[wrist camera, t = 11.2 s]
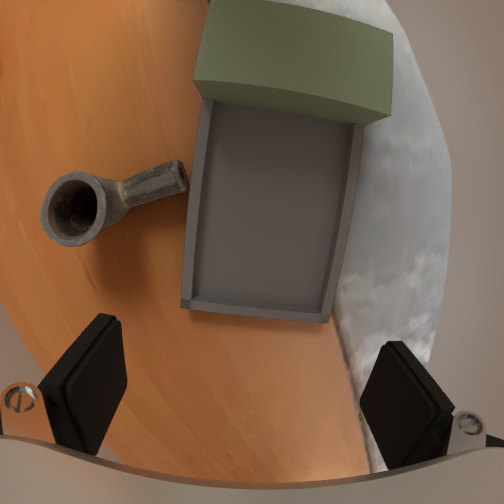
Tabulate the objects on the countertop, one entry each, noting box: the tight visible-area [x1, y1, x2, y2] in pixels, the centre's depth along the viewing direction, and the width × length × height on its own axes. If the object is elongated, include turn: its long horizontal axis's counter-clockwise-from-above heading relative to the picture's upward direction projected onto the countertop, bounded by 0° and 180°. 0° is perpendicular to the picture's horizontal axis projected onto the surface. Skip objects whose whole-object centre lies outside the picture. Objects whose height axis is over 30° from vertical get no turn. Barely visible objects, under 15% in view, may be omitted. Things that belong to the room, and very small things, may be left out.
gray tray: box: [181, 0, 393, 323], centre depth 24 cm, size 28×15×8 cm, turn 172°
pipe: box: [40, 160, 188, 247], centre depth 24 cm, size 6×13×8 cm, turn 106°
